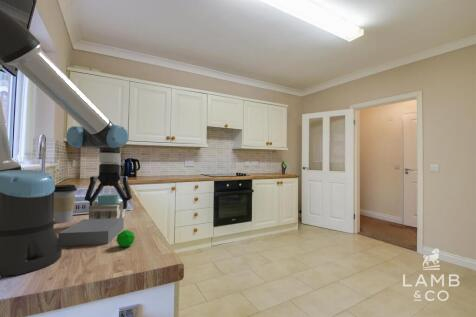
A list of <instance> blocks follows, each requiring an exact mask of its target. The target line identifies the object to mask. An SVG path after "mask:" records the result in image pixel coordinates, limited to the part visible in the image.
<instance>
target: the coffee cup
mask: <svg viewBox="0 0 476 317" xmlns="http://www.w3.org/2000/svg"><path fill="white" fill-rule="evenodd" d="M54 185H55V184H54ZM77 190H78V188H77V187H76V185H75V184H58V185H57V184H56V185H55V190H54V223H56V224H59V223H60V224H61V223H68V222H71V221H73V216H74V210H75V205H76V204H75V201H76V192H77Z"/></svg>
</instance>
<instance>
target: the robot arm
mask: <svg viewBox="0 0 476 317" xmlns="http://www.w3.org/2000/svg"><path fill="white" fill-rule="evenodd" d="M2 62H3V64H5V65H9V66H13V67H15V68H16V69H17V70H18V71H19V72H21V74H23V75H24V76H25V77H26V78H27V79H29V80H30V81H31V82H32V83H33V84H34V85H35V86H36V87H37V88H38V89H39V90H41V91H42V92H43V93H44V94H46V96H47V97H48V98H50V100H52V101H53V102H54V103H55V104H56V105H57V106H58V107H60V108H61V109H62V110H63V111H64V112H65V113H67V114H68V115H69V117H71V118H72V119H73V120H74V121H75V122H77V123H78V124H79V125H80V126H75V125H73V126H71V127H69V128H68V129H67V132H66V136H65V138H66V142H67V144H68V145H69V146H70V147H73V148H78V149H79V148H83V149H85V148H86V149H99V155H98V156H99V158H98V162H99V165H98V175H97V176H95V175H93V176H90V177H89V185H88V188H87V189H86V193H85V197H84V199H83V200H85V201H87V202H89V206H91V205H94V204H96V203H98V200H97V201H96V199H98V196H100V195H99V194H100V193H101V192H102V190H103V189H104V187H113V188H114V189H115V190H116V191H117V194H119V198H121V201H122V202H121V215H120V218H124V217H125V215H124V209H126V210H127V208H128V202H129V201H130V200H132V199H133V196H132V192H131V190H130V189H131V188H130V186H129V182H128V181H129V180H128V179H129V177H128V176H121V173H120V171H121V165H120V162H121V147H124V146H125V145H127V144H128V141H129V133H128V130H127V129H126V128H125V127H124V126H122V125H118V124H114V123H113V122H112V121H110V119H109V118H108V117H107V116H106V115H105V114H104V113H103V112H102V111H101V110H100V109H99V108H98V107H97V106H96V105H95V104H94V103H93V102H92V101H91V100H90V98H89V97H88V96H87V95H86V94H84V92H83V91H82V90H81V89H80V88H79V87H78V86H77V85H76V84H75V83H74V82H73V81H72V80H71V78H69V76H67V75H66V74H65V73H64V72H63V70H62V69H61V68H60V67H59V66H58V65H57V64H56V63H55V62H54V61H53V60H52V59H51V58H50V57H49V56H48V55H47V54H46V53H45V52H44V51H43V50H42V43H41V42H40V41H39V40H38V39H37V37H36V36H35V35H34V34H32V33H31V31H30V30H29V29H28V28H27V27H26V26H24V25H23V23H21V22H20V21H19V20H18V19H16V18H15V17H14V16H12V14H10V13H8V12H7V11H6V10H4V9H3V8H2V7H0V70H2V69H3V64H2ZM21 165H22V164H20V163H18V162H16V161H14V160H13V157H12V151H11V146H10V140H9V136H8V129H7V125H6V120H5V114H4V109H3V103H2V99H1V97H0V276H6V277H9V276H8V275H13V276H17V275H22V274H26V273H31V272H33V271H37V270H40V269H42V268H45V267H47V266H51V265H52V264H53V263H56V262H57V261H59V260H60V259H61V258H62V256H63V255H62V253H63V252H62V251H63V250H62V249H63V248H62V246H61V245H60V242H59V240H58V234H57V233H56V231H55V226H54V225H55V224H54V223H55V220H54V190H55V179H54V175H52V174H51V173H49V172H46V171H41V170H29V169H22V166H21ZM120 180H121V182H122V184H123V188H124V190H123V189H122V187H121V185H120V183H119V181H120ZM97 181H98V182H99V184H98V186H97V188H96V189H95V186H96V183H97ZM94 189H95V191H94ZM124 191H125V192H124Z"/></svg>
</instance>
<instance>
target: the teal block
mask: <svg viewBox="0 0 476 317" xmlns="http://www.w3.org/2000/svg"><path fill="white" fill-rule="evenodd" d="M119 201H120V195H119V194H118V193H114V194H113V193H104V194H100V195H98V196H97V203H98V205H115V204H117V203H118V202H119Z"/></svg>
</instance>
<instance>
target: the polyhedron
mask: <svg viewBox="0 0 476 317" xmlns="http://www.w3.org/2000/svg"><path fill="white" fill-rule="evenodd" d="M135 238H136V237H135V233H134V232H133V231H131V230H129V229H123V230H121V231H120V232H119V233H118V234H117V235H116V243H117V245H119V246H121V248H127V247H130V246H131V245H132V244H133V243H134V242H135Z"/></svg>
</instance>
